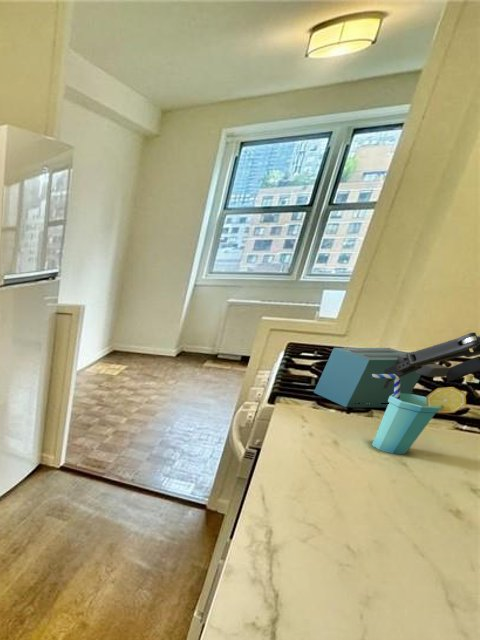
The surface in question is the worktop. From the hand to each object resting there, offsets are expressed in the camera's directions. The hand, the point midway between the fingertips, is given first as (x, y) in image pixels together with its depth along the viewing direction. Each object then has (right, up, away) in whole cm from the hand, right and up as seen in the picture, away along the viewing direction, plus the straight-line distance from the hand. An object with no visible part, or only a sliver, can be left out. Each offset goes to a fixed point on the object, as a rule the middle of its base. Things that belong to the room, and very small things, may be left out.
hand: (417, 375), depth 108 cm
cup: (-17, -16, -9) cm, 25 cm away
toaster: (0, -4, +14) cm, 14 cm away
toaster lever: (0, +1, 0) cm, 1 cm away
